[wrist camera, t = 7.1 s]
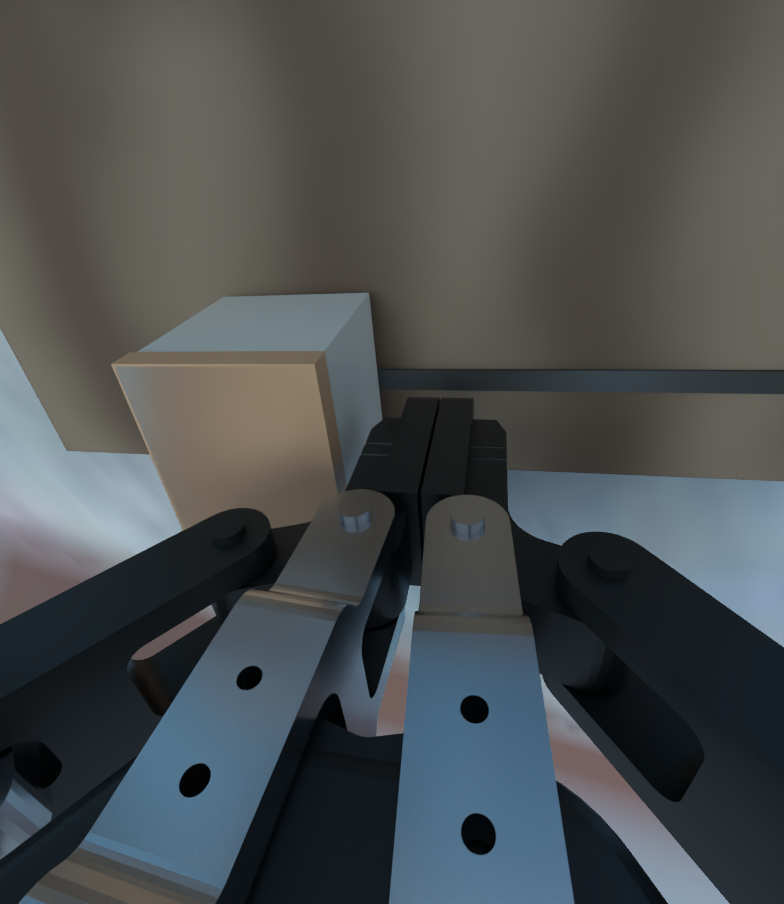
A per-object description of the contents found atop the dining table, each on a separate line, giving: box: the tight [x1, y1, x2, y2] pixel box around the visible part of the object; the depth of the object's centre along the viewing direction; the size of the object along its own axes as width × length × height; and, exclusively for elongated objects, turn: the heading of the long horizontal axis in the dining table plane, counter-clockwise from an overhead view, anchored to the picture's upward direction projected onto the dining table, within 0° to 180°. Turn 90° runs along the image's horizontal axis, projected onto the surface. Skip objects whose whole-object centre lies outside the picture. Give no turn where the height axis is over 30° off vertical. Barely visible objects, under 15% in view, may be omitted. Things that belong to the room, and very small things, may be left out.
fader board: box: [0, 0, 784, 481], centre depth 11 cm, size 24×18×2 cm
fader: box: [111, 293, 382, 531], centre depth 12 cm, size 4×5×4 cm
